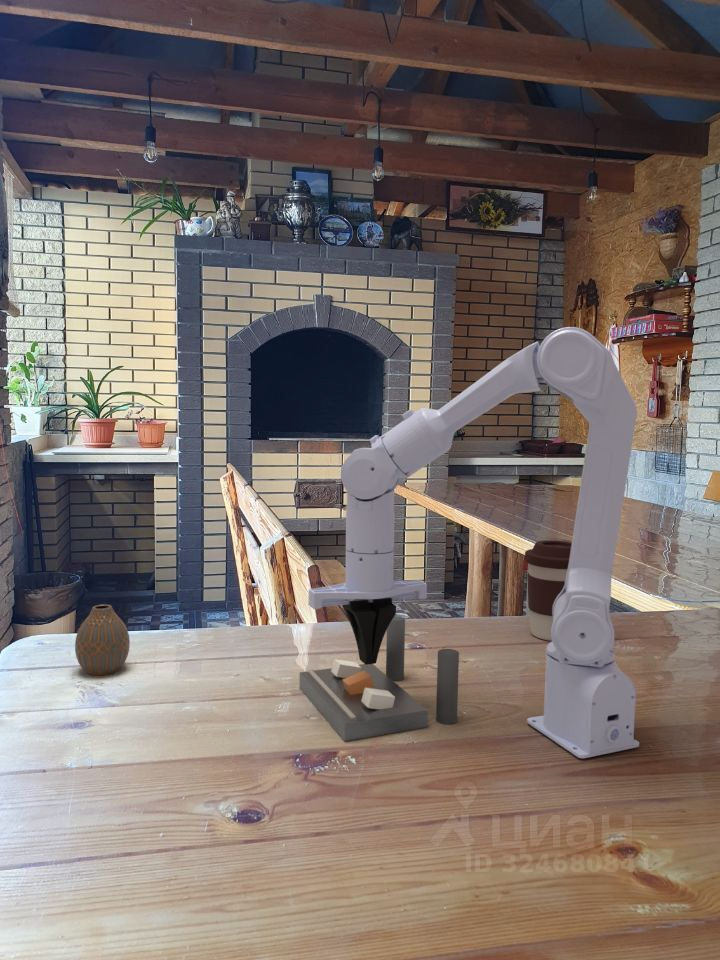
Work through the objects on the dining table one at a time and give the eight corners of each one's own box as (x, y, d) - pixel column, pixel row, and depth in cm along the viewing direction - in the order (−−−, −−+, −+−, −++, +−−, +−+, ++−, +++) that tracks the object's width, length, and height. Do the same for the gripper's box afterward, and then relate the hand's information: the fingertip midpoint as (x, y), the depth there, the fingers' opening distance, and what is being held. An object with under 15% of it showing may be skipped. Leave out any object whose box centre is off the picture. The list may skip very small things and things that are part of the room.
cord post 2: (460, 722, 81) (462, 654, 80) (442, 725, 80) (444, 656, 79) (450, 714, 83) (452, 647, 82) (432, 717, 82) (434, 650, 81)
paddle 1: (358, 679, 89) (361, 667, 89) (336, 676, 88) (339, 664, 88) (352, 674, 91) (355, 662, 91) (331, 671, 90) (334, 659, 90)
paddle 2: (391, 710, 80) (395, 697, 80) (368, 708, 78) (371, 694, 79) (384, 704, 82) (387, 690, 82) (361, 701, 80) (364, 687, 80)
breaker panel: (427, 727, 79) (428, 707, 79) (344, 741, 76) (344, 720, 75) (371, 677, 94) (371, 660, 94) (299, 687, 90) (299, 670, 90)
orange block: (374, 688, 84) (371, 676, 84) (351, 697, 83) (348, 685, 83) (367, 682, 86) (364, 670, 86) (345, 691, 85) (342, 679, 85)
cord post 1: (406, 679, 94) (408, 620, 93) (390, 681, 93) (391, 622, 92) (399, 673, 96) (400, 615, 95) (382, 675, 95) (384, 617, 94)
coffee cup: (593, 646, 109) (598, 550, 107) (529, 644, 109) (533, 548, 108) (575, 626, 119) (579, 538, 117) (516, 625, 119) (519, 537, 117)
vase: (138, 662, 98) (137, 601, 98) (116, 681, 92) (115, 614, 91) (90, 660, 99) (89, 598, 98) (65, 678, 92) (64, 612, 91)
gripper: (409, 540, 90) (407, 644, 91) (300, 547, 84) (299, 657, 86) (436, 550, 83) (433, 662, 85) (320, 558, 78) (318, 677, 79)
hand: (367, 661), depth 85 cm, fingers closed
